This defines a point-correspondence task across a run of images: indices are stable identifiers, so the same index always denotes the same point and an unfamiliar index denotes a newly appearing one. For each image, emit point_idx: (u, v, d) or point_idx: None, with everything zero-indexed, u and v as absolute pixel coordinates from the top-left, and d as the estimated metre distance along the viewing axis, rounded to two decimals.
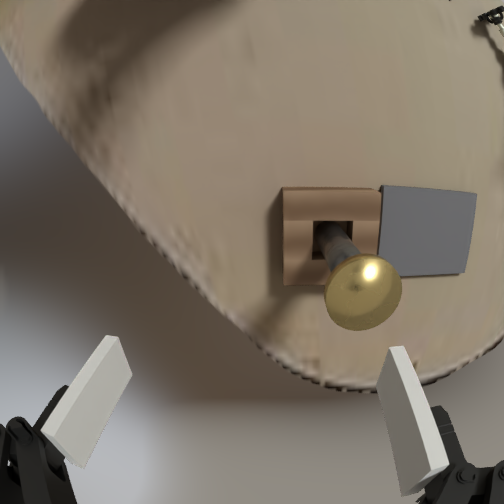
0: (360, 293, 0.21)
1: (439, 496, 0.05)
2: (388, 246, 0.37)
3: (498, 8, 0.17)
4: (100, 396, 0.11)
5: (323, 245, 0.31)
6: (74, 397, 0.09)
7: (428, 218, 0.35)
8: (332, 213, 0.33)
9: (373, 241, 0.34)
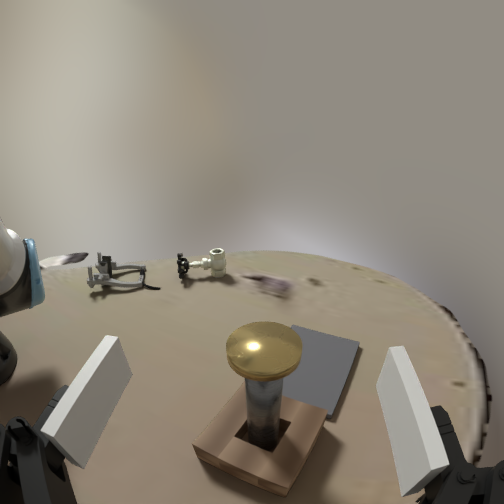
0: (257, 346, 0.23)
1: (439, 496, 0.05)
2: (304, 398, 0.37)
3: (178, 256, 0.70)
4: (100, 396, 0.11)
5: (251, 424, 0.27)
6: (74, 397, 0.09)
7: None
8: (237, 420, 0.31)
9: (283, 399, 0.33)
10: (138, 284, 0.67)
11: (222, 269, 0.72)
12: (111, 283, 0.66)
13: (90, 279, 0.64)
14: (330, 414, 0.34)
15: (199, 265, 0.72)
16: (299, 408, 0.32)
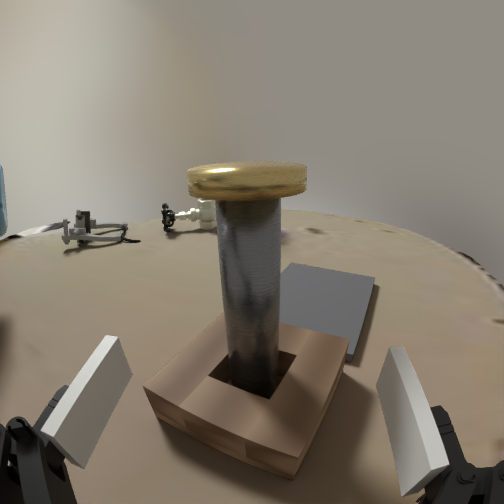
0: (236, 167, 0.15)
1: (439, 496, 0.05)
2: None
3: (163, 206, 0.62)
4: (100, 396, 0.11)
5: (233, 344, 0.18)
6: (74, 397, 0.09)
7: (296, 297, 0.35)
8: (214, 353, 0.22)
9: (283, 327, 0.25)
10: (116, 238, 0.58)
11: (212, 219, 0.64)
12: (87, 237, 0.57)
13: (65, 234, 0.55)
14: (351, 353, 0.25)
15: (186, 216, 0.63)
16: (308, 337, 0.23)
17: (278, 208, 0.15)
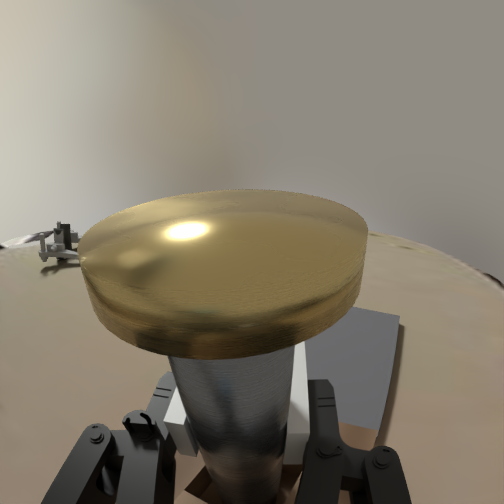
0: (194, 220, 0.06)
1: (302, 475, 0.07)
2: None
3: None
4: None
5: (214, 477, 0.10)
6: None
7: None
8: None
9: None
10: None
11: None
12: (65, 255, 0.48)
13: (42, 250, 0.47)
14: None
15: None
16: None
17: None
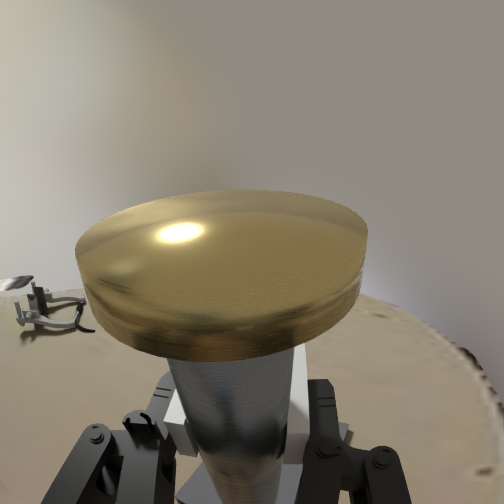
0: (192, 221, 0.06)
1: (303, 475, 0.07)
2: None
3: None
4: None
5: (213, 478, 0.10)
6: None
7: None
8: None
9: None
10: (70, 324, 0.47)
11: None
12: (41, 322, 0.45)
13: (19, 316, 0.43)
14: None
15: None
16: None
17: None
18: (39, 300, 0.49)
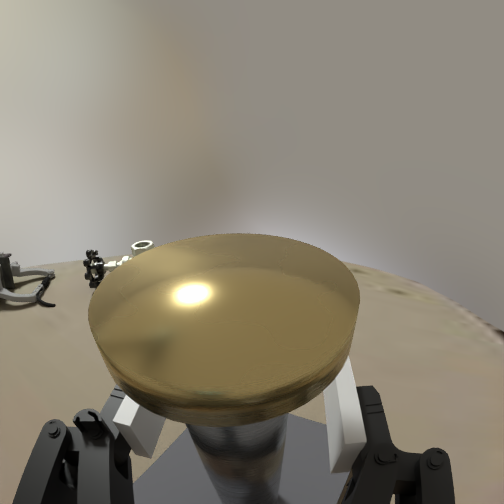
0: (196, 285, 0.07)
1: (359, 480, 0.06)
2: None
3: (87, 254, 0.41)
4: None
5: (217, 489, 0.10)
6: None
7: (202, 488, 0.15)
8: None
9: None
10: (30, 298, 0.37)
11: None
12: (1, 295, 0.36)
13: None
14: None
15: None
16: None
17: None
18: (5, 273, 0.40)
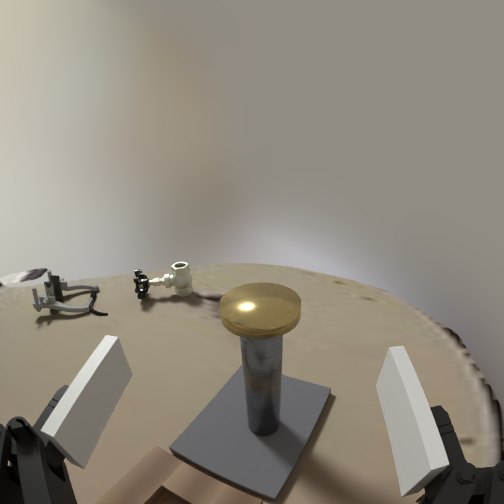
0: (253, 303, 0.22)
1: (439, 496, 0.05)
2: (240, 471, 0.23)
3: (135, 273, 0.57)
4: (100, 396, 0.11)
5: (250, 401, 0.26)
6: (74, 397, 0.09)
7: (236, 419, 0.30)
8: (137, 497, 0.17)
9: (202, 478, 0.20)
10: (84, 309, 0.53)
11: (187, 286, 0.59)
12: (56, 307, 0.51)
13: (36, 302, 0.50)
14: (273, 497, 0.20)
15: (160, 282, 0.59)
16: (221, 493, 0.18)
17: None
18: (55, 288, 0.56)
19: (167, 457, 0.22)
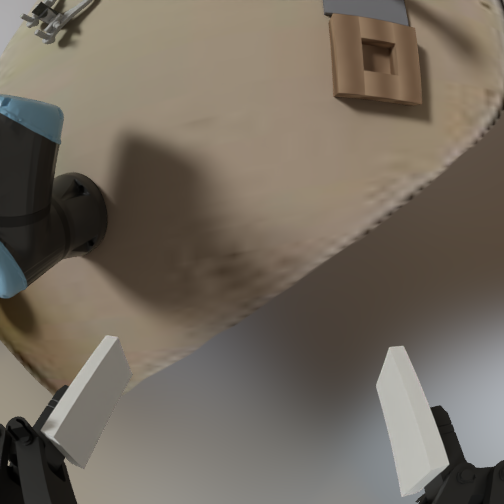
0: None
1: (439, 496, 0.05)
2: (379, 12, 0.27)
3: None
4: (100, 396, 0.11)
5: None
6: (74, 397, 0.09)
7: None
8: (356, 53, 0.29)
9: (377, 22, 0.26)
10: None
11: None
12: (72, 15, 0.29)
13: (47, 38, 0.29)
14: (407, 25, 0.27)
15: None
16: (394, 28, 0.26)
17: None
18: None
19: (347, 17, 0.27)
